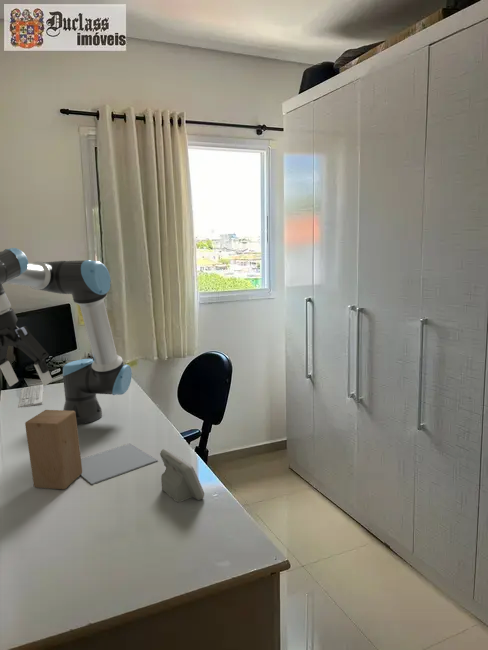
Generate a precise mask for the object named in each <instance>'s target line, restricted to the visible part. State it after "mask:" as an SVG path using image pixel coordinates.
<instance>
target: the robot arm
mask: <svg viewBox="0 0 488 650" xmlns="http://www.w3.org/2000/svg"><path fill="white" fill-rule="evenodd" d="M111 280H112V279H111V275H110V272H109V270H108V268H107V267H106V265H105V264H104V263H102V262H101V261H99V260H91V259H85V260H58V261H57V260H55V261H33V262H29V259H28V257H27V255H26V254H25V252H23V251H22V250H21V249H19V248H17V247H11V248H5V249H4V250H2V251H0V371H1V373H2V374H3V376H4V378H5V380H6V382H7V385H8V386H9V387H12V386H14V385H15V384H17V383H18V382H19V379H18V377H17V374H16V373H15V371H14V369H13V367H12V364H11V363H10V361H9V358H7V355H8V350H9V349H8V348H9V346H10V347H14V348H16V349H17V348H18V349H19V350H20V351H21V352H23V353H24V354H25V355H26V356H27V357H29V358H30V360H32V361H33V362H34V364H33V366H34V368H35V370H36V373H37V375H38V377H39V379H40V380H41V384H43V385H44V386H47V385H49V383H51V382H52V381H53V378H52V376H51V373H50V371H49V370H50V369H49V366H48V364H47V363H46V359H47V358H49V356H50V354H49V352H48V351H47V350H46V349H45V348H44V346H42V345H41V343H39V341H38V340H37V339H36V338H35V337H34V336H33V335H32V333H31V331H30V330H29V328H28V326H27V325H24V326H22V327H18V326H17V322H18V320H19V319H18V317H17V315H16V313H15V311H14V309H13V308H11V307H12V304H11V302H10V299H9V298H8V295H7V293H6V291H5V289H4V286H3V285H4V284H6V285H17V286H24V287H25V286H27V287H30V288H31V289H33V290H37V291H43V292H49V293H54V294H60V295H61V294H62V295H72V300H73V302H74V304H76V305H78V306H79V308H80V311H81V312H80V313H81V315H82V319H83V323H84V326H85V330H86V331H85V332H86V335H87V338H88V343H89V346H90V349H91V353H92V358H83V359H77V360H73V361H72V360H71V361H70V362H67V363H66V364H64V365H63V367H62V377H63V389H64V390H63V391H64V399H65V401H64V405H63V409H62V410H66V411H75V413H76V422H77V425H82V424H88V423H93V422H95V421H98V420H99V419H100V418H102V416H103V412H102V411H103V409H102V407H101V405H100V402H99V400H98V398H97V395H113V396H115V395H116V396H118V395H119V396H120V395H124V394H126V393H127V392H128V390H129V387H130V386H131V382H132V377H133V376H132V375H133V372H132V367H131V366H130V365H128V364H124V361H123V358H122V356H120V355H118V351H117V349H116V344H115V341H114V336H113V332H112V328H111V324H110V319H109V316H108V311H107V307H106V303H105V299H106V298H107V296H108V293H109V291H110V289H111ZM2 284H3V285H2Z"/></svg>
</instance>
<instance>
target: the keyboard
mask: <svg viewBox="0 0 488 650" xmlns="http://www.w3.org/2000/svg"><path fill="white" fill-rule="evenodd" d="M18 401H19V402H18V407H17V408H26V407H27V408H29V407H33V406H34V407H35V406H40V405H43V401H44V385H43V383H41V384H37V385H31V386H27V387H23V388H21V391H20V397H19V400H18Z"/></svg>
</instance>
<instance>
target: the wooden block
mask: <svg viewBox="0 0 488 650" xmlns="http://www.w3.org/2000/svg"><path fill="white" fill-rule="evenodd" d="M24 424H25V425H24V427H25V431H26V438H27V446H28V452H29V453H28V454H29V460H30V469H31V474H32V482H33V487H34V488H37V489H38V488H39V489H50V490H51V489H52V490H53V489H54V490H65V489H67V488H68V487H69V486H71V484H72V483H74V482H75V480H76V479H78V478H79V477H81V476H80V475H81V474H82V464H81V459H82V456H81V450H80V449H81V448H80V441H79V440H80V439H79V432H78V424H77V422H76V413H75V411H66V410H63V409H61V410H59V409H45V410H42V411H41V412H39V413H37V414H36V415H35V416H33V417H32V418H30V419H28V420H27V421H25V423H24Z"/></svg>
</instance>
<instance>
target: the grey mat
mask: <svg viewBox="0 0 488 650" xmlns="http://www.w3.org/2000/svg"><path fill="white" fill-rule="evenodd" d="M156 462H157V463H158V459H157V458H156V457H153V456H151V455H150V454H148V453H147V452H145V451H143V450H142V449H140V448H138V447H137V446H135V444H132V443H127V444H123V445H121V446H117V447H114V448H111V449H108V450H104V451H101V452H99V453H96V454H92V455H89V456H86V457H85V456H84V457H83V458H82V457H81V464H82V474H81V475H80V476H79V477H82V479H84V480H85V481H86V482H87V483H89V485H92V486H93V485H96V484H99V483H101V482H104V481H107V480H110V479H112V478H115V477H118V476H120V475H123V474H126V473H129V472H133V471H134V470H138V469H140V468H143V467H145V466H148V465H150V464H155V463H156Z"/></svg>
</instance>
